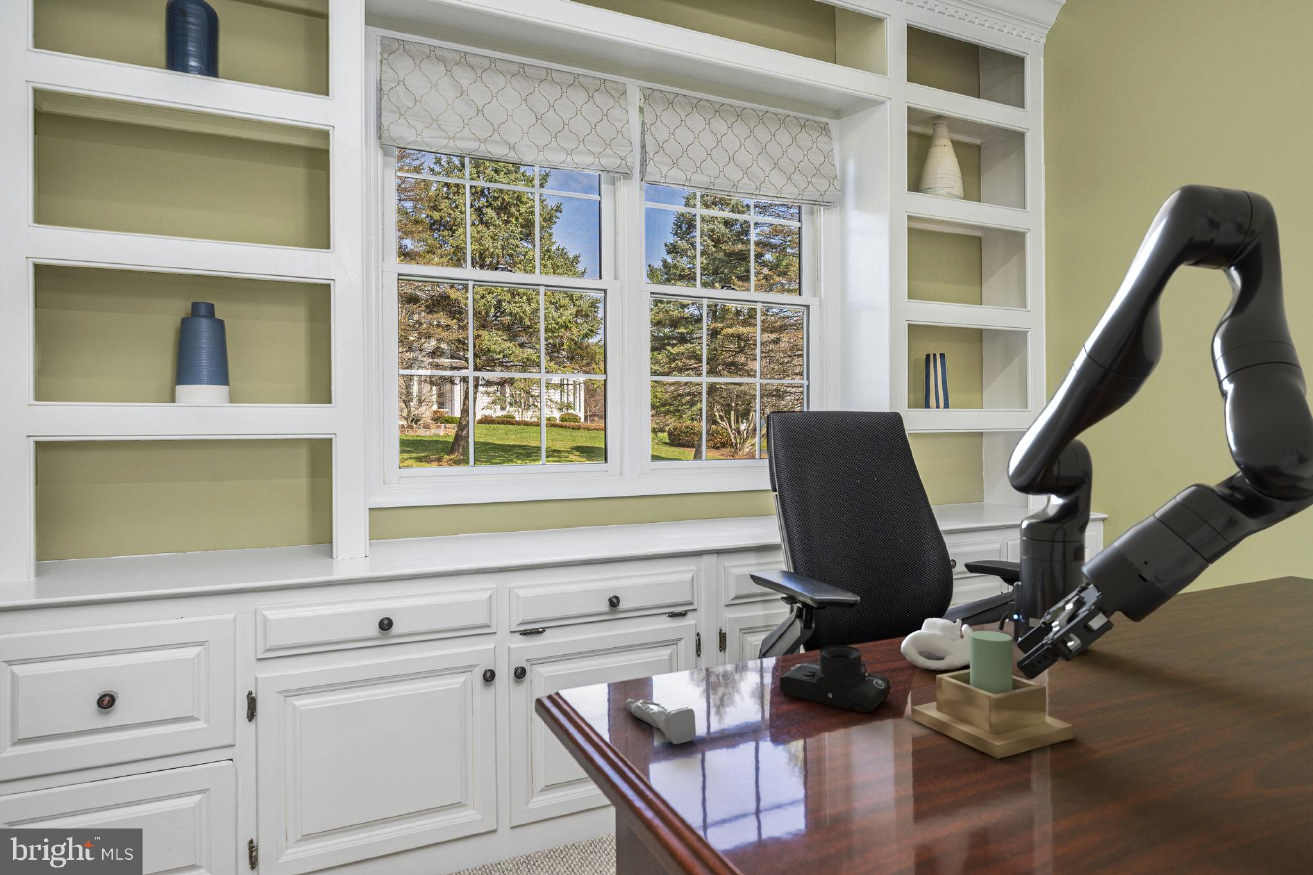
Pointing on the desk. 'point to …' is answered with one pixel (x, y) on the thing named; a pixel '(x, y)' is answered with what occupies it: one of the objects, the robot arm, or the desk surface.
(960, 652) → the white looped sculpture
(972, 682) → the green tall cylinder
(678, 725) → the figurine
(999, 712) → the display stand
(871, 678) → the film camera
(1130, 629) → the desk surface
